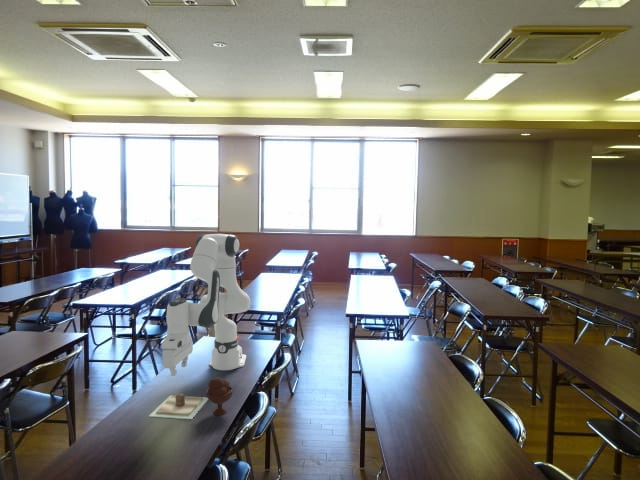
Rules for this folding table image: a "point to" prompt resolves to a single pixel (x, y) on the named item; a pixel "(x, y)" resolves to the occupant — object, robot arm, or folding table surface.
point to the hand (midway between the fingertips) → (179, 370)
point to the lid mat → (179, 415)
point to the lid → (179, 405)
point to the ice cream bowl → (219, 394)
